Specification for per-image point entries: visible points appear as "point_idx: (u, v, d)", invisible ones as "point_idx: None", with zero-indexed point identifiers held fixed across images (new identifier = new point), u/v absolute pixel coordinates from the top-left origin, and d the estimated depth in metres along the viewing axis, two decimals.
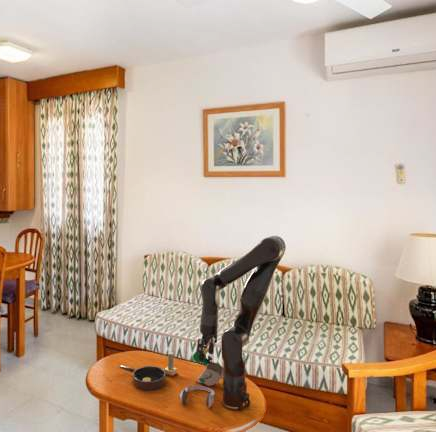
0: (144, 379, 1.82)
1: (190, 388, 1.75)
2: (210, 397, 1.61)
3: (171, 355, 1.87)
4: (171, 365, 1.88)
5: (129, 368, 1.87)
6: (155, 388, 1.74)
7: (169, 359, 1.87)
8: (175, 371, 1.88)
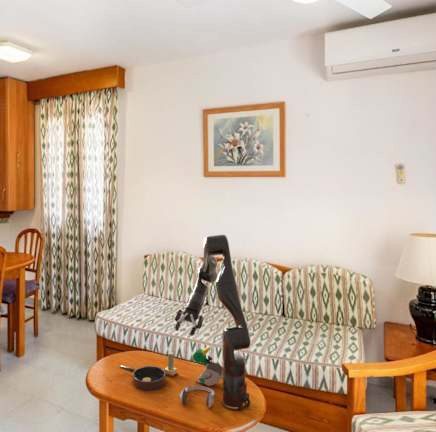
0: (144, 379, 1.82)
1: (190, 388, 1.75)
2: (210, 397, 1.61)
3: (171, 355, 1.87)
4: (171, 365, 1.88)
5: (129, 368, 1.87)
6: (155, 388, 1.74)
7: (169, 359, 1.87)
8: (175, 371, 1.88)
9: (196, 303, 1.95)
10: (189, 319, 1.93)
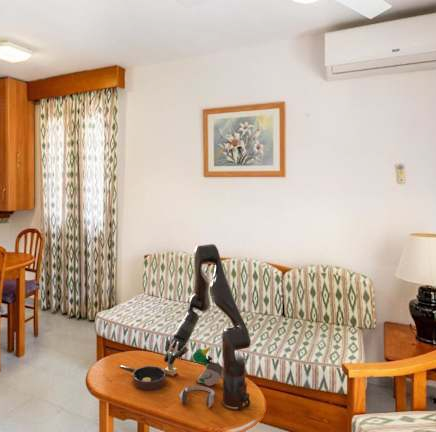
0: (144, 379, 1.82)
1: (190, 388, 1.75)
2: (210, 397, 1.61)
3: (171, 355, 1.87)
4: (171, 365, 1.88)
5: (129, 368, 1.87)
6: (155, 388, 1.74)
7: (169, 359, 1.87)
8: (175, 371, 1.88)
9: (184, 331, 1.91)
10: (174, 345, 1.90)
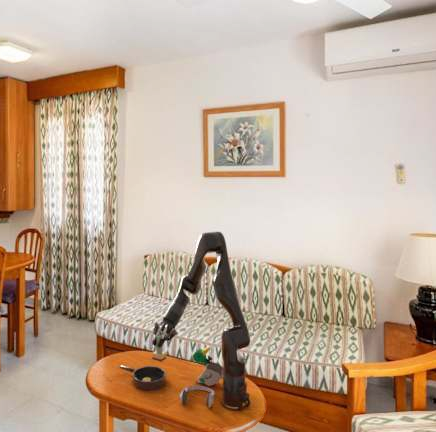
0: (144, 379, 1.82)
1: (190, 388, 1.75)
2: (210, 397, 1.61)
3: (159, 338, 1.78)
4: (160, 349, 1.79)
5: (129, 368, 1.87)
6: (155, 388, 1.74)
7: (157, 342, 1.79)
8: (164, 355, 1.79)
9: (173, 313, 1.83)
10: (163, 328, 1.82)
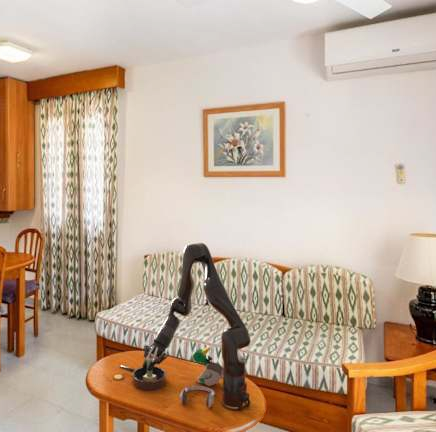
0: None
1: (190, 388, 1.75)
2: (210, 397, 1.61)
3: (150, 361, 1.79)
4: (150, 372, 1.79)
5: (129, 368, 1.87)
6: (155, 388, 1.74)
7: None
8: (154, 378, 1.80)
9: (163, 336, 1.83)
10: (154, 351, 1.82)
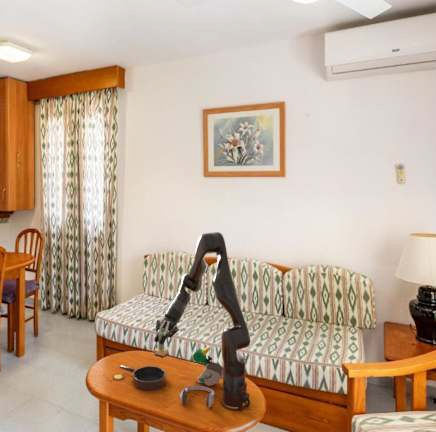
0: None
1: (190, 388, 1.75)
2: (210, 397, 1.61)
3: (161, 335, 1.81)
4: (161, 345, 1.82)
5: (129, 368, 1.87)
6: (155, 388, 1.74)
7: (159, 339, 1.81)
8: (166, 351, 1.82)
9: (174, 310, 1.85)
10: (165, 325, 1.84)
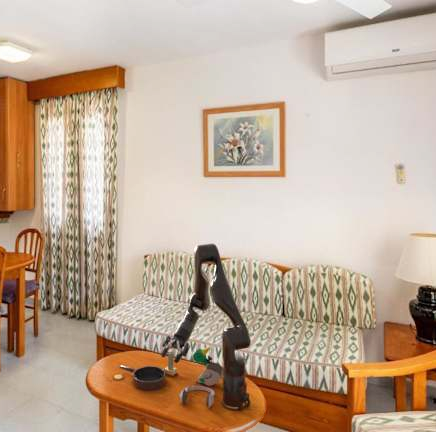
0: None
1: (190, 388, 1.75)
2: (210, 397, 1.61)
3: (171, 355, 1.87)
4: (171, 365, 1.88)
5: (129, 368, 1.87)
6: (155, 388, 1.74)
7: (169, 359, 1.88)
8: (175, 371, 1.88)
9: (184, 330, 1.91)
10: (175, 346, 1.89)
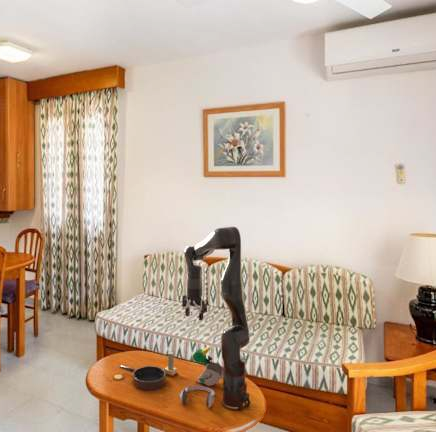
0: None
1: (190, 388, 1.75)
2: (210, 397, 1.61)
3: (171, 355, 1.87)
4: (171, 365, 1.88)
5: (129, 368, 1.87)
6: (155, 388, 1.74)
7: (169, 359, 1.88)
8: (175, 371, 1.88)
9: (193, 290, 1.89)
10: (194, 305, 1.92)
